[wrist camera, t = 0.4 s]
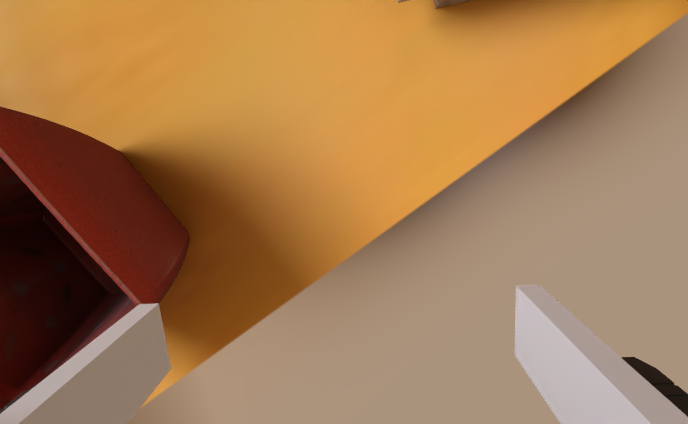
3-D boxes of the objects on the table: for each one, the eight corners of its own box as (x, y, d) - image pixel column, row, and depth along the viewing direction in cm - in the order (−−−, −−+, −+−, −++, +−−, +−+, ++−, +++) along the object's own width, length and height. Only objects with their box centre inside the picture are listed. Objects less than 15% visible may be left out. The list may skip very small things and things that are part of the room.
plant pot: (114, 334, 46) (-27, 449, 29) (-1, 209, 43) (-227, 257, 27) (233, 245, 42) (151, 318, 26) (117, 104, 40) (-55, 85, 23)
